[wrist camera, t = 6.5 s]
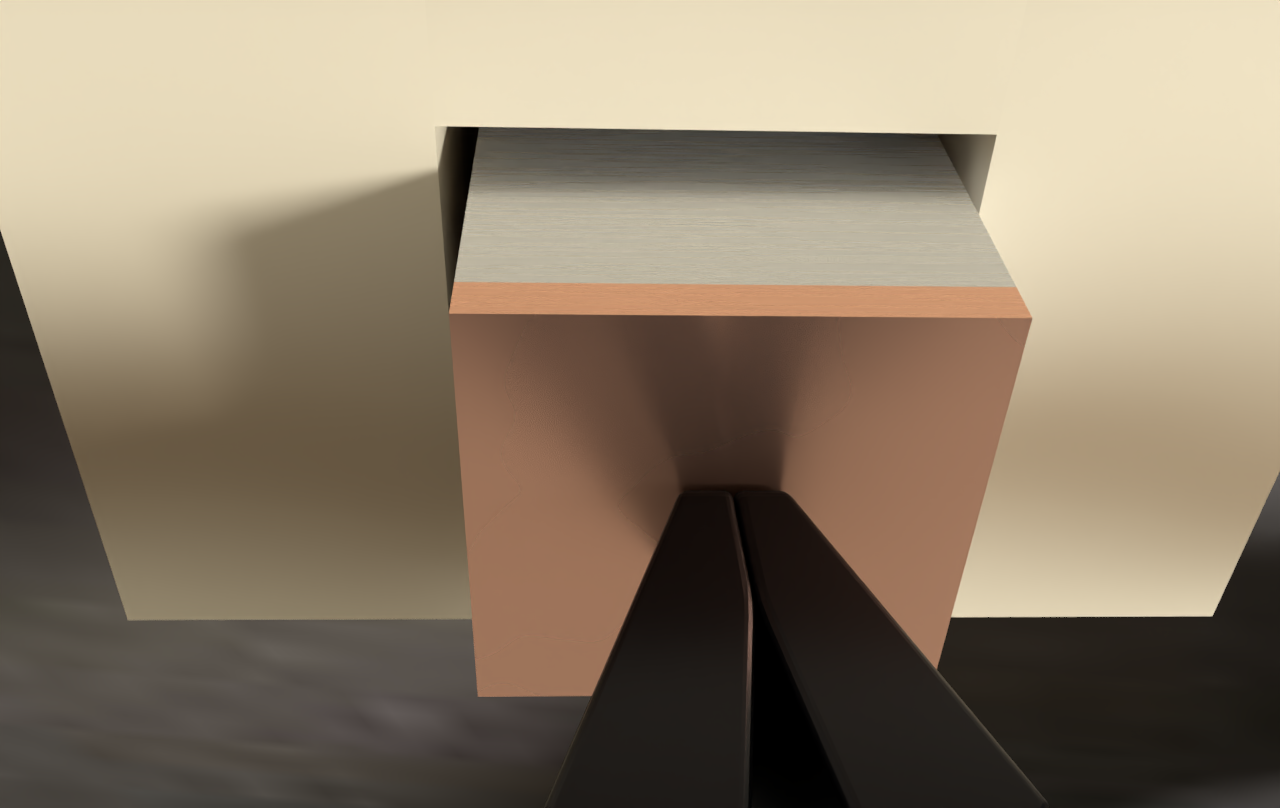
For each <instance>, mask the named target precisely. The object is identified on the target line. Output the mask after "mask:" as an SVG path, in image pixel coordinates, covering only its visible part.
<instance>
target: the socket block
mask: <svg viewBox="0 0 1280 808" xmlns="http://www.w3.org/2000/svg"><path fill="white" fill-rule="evenodd" d="M479 127H528V128H595V129H661V130H728V131H795V132H861V133H928V134H937V135H938V137H939V139H940V141H941V143H942V145H943V147H944V149H945V151H946V153H947V154H948V156H949V158H950V160H951V162H952V164H953V166H954V168H955V170H956V172H957V174H958V176H959V178H960V179H961V181H962V183H963V185H964V187H965V189H966V191H967V193H968V195H969V197H970V199H971V201H972V203H973V204H974V206H975V208H976V210H977V212H978V214H979V216H980V218H981V220H982V222H983V224H984V226H985V228H986V229H987V231H988V233H989V235H990V237H991V239H992V241H993V243H994V245H995V247H996V249H997V251H998V253H999V254H1000V256H1001V258H1002V260H1003V262H1004V264H1005V266H1006V268H1007V270H1008V272H1009V274H1010V276H1011V278H1012V279H1013V281H1014V283H1015V285H1016V287H1017V289H1018V291H1019V293H1020V295H1021V297H1022V299H1023V301H1024V303H1025V305H1026V306H1027V308H1028V310H1029V312H1030V314H1031V316H1032V318H1033V319H1032V322H1031V326H1030V330H1029V333H1028V337H1027V341H1026V344H1025V348H1024V352H1023V355H1022V359H1021V363H1020V366H1019V370H1018V373H1017V377H1016V381H1015V384H1014V388H1013V392H1012V395H1011V399H1010V403H1009V406H1008V410H1007V414H1006V417H1005V421H1004V425H1003V428H1002V432H1001V436H1000V439H999V443H998V447H997V450H996V454H995V458H994V461H993V465H992V469H991V472H990V476H989V480H988V483H987V487H986V491H985V494H984V498H983V502H982V505H981V509H980V513H979V516H978V520H977V524H976V527H975V531H974V535H973V538H972V542H971V546H970V549H969V553H968V557H967V560H966V564H965V568H964V571H963V575H962V579H961V582H960V586H959V590H958V593H957V597H956V601H955V604H954V608H953V612H952V615H951V617H1171V616H1213V614H1214V612H1215V610H1216V607H1217V605H1218V603H1219V601H1220V599H1221V597H1222V595H1223V592H1224V590H1225V588H1226V586H1227V584H1228V582H1229V579H1230V577H1231V575H1232V573H1233V571H1234V569H1235V566H1236V564H1237V562H1238V560H1239V558H1240V556H1241V553H1242V551H1243V549H1244V547H1245V545H1246V543H1247V541H1248V538H1249V536H1250V534H1251V532H1252V530H1253V528H1254V525H1255V523H1256V521H1257V519H1258V517H1259V515H1260V512H1261V510H1262V508H1263V506H1264V504H1265V502H1266V500H1267V497H1268V495H1269V493H1270V491H1271V489H1272V487H1273V484H1274V482H1275V480H1276V478H1277V476H1278V474H1279V471H1280V0H0V230H1V234H2V237H3V240H4V243H5V246H6V249H7V252H8V255H9V258H10V261H11V264H12V267H13V270H14V273H15V276H16V279H17V282H18V285H19V289H20V292H21V295H22V298H23V301H24V304H25V307H26V310H27V313H28V316H29V319H30V322H31V325H32V328H33V331H34V334H35V337H36V341H37V344H38V347H39V350H40V353H41V356H42V359H43V362H44V365H45V368H46V371H47V374H48V377H49V380H50V383H51V386H52V389H53V392H54V396H55V399H56V402H57V405H58V408H59V411H60V414H61V417H62V420H63V423H64V426H65V429H66V432H67V435H68V438H69V441H70V444H71V448H72V451H73V454H74V457H75V460H76V463H77V466H78V469H79V472H80V475H81V478H82V481H83V484H84V487H85V490H86V493H87V496H88V499H89V503H90V506H91V509H92V512H93V515H94V518H95V521H96V524H97V527H98V530H99V533H100V536H101V539H102V542H103V545H104V548H105V551H106V555H107V558H108V561H109V564H110V567H111V570H112V573H113V576H114V579H115V582H116V585H117V588H118V591H119V594H120V597H121V600H122V603H123V606H124V610H125V613H126V616H127V619H128V620H321V619H472V612H471V599H470V586H469V572H468V559H467V546H466V533H465V520H464V507H463V493H462V480H461V467H460V454H459V441H458V428H457V414H456V401H455V388H454V375H453V362H452V349H451V335H450V322H449V309H450V303H451V297H452V291H453V285H454V279H455V273H456V267H457V260H458V254H459V248H460V242H461V236H462V230H463V224H464V218H465V211H466V205H467V199H468V193H469V187H470V181H471V175H472V169H473V162H474V156H475V150H476V144H477V138H478V132H479Z"/></svg>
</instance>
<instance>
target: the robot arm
mask: <svg viewBox="0 0 1280 808" xmlns="http://www.w3.org/2000/svg"><path fill="white" fill-rule="evenodd" d="M544 808H1049V804H1048V802H1047V801H1046V800H1045V798H1044V797H1043V796H1042V795H1041V794H1040V792H1039V791H1038V790H1037V789H1036V788H1035V786H1034V785H1033V784H1032V783H1031V782H1030V780H1029V779H1028V778H1027V777H1026V776H1025V774H1024V773H1023V772H1022V771H1021V770H1020V769H1019V767H1018V766H1017V765H1016V764H1015V763H1014V761H1013V760H1012V759H1011V758H1010V757H1009V755H1008V754H1007V753H1006V752H1005V751H1004V749H1003V748H1002V747H1001V746H1000V745H999V743H998V742H997V741H996V740H995V739H994V737H993V736H992V735H991V734H990V733H989V732H988V730H987V729H986V728H985V727H984V726H983V724H982V723H981V722H980V721H979V720H978V718H977V717H976V716H975V715H974V714H973V712H972V711H971V710H970V709H969V708H968V706H967V705H966V704H965V703H964V702H963V700H962V699H961V698H960V697H959V696H958V695H957V693H956V692H955V691H954V690H953V689H952V687H951V686H950V685H949V684H948V683H947V681H946V680H945V679H944V678H943V677H942V675H941V674H940V673H939V672H938V671H937V669H936V668H935V667H934V666H933V665H932V663H931V662H930V661H929V660H928V659H927V658H926V656H925V655H924V654H923V653H922V652H921V650H920V649H919V648H918V647H917V646H916V644H915V643H914V642H913V641H912V640H911V638H910V637H909V636H908V635H907V634H906V632H905V631H904V630H903V629H902V628H901V626H900V625H899V624H898V623H897V622H896V621H895V619H894V618H893V617H892V616H891V615H890V613H889V612H888V611H887V610H886V609H885V607H884V606H883V605H882V604H881V603H880V601H879V600H878V599H877V598H876V597H875V595H874V594H873V593H872V592H871V591H870V589H869V588H868V587H867V586H866V585H865V584H864V582H863V581H862V580H861V579H860V578H859V576H858V575H857V574H856V573H855V572H854V570H853V569H852V568H851V567H850V566H849V564H848V563H847V562H846V561H845V560H844V558H843V557H842V556H841V555H840V554H839V552H838V551H837V550H836V549H835V548H834V547H833V545H832V544H831V543H830V542H829V541H828V539H827V538H826V537H825V536H824V535H823V533H822V532H821V531H820V530H819V529H818V527H817V526H816V525H815V524H814V523H813V521H812V520H811V519H810V518H809V517H808V515H807V514H806V513H805V512H804V511H803V510H802V508H801V507H800V506H799V505H798V504H797V502H796V501H795V500H794V499H793V498H792V497H791V496H790V495H789V494H788V493H786V492H784V491H740V492H738V493H737V494H736V495H735V496H734V498H733V497H732V495H731V494H730V493H729V492H727V491H723V490H687V491H684V492H682V493H680V494H679V496H678V497H677V499H676V501H675V503H674V506H673V508H672V510H671V513H670V515H669V517H668V520H667V522H666V524H665V527H664V529H663V531H662V534H661V536H660V538H659V541H658V543H657V545H656V548H655V550H654V552H653V555H652V557H651V559H650V561H649V564H648V566H647V568H646V571H645V573H644V575H643V578H642V580H641V582H640V585H639V587H638V589H637V592H636V594H635V596H634V599H633V601H632V603H631V606H630V608H629V610H628V613H627V615H626V617H625V620H624V622H623V624H622V627H621V629H620V631H619V634H618V636H617V638H616V641H615V643H614V645H613V648H612V650H611V652H610V655H609V657H608V659H607V662H606V664H605V666H604V669H603V671H602V673H601V675H600V678H599V680H598V682H597V685H596V687H595V689H594V692H593V694H592V696H591V699H590V701H589V703H588V706H587V708H586V710H585V713H584V715H583V717H582V720H581V722H580V724H579V727H578V729H577V731H576V734H575V736H574V738H573V741H572V743H571V745H570V748H569V750H568V752H567V755H566V757H565V759H564V762H563V764H562V766H561V769H560V771H559V773H558V776H557V778H556V780H555V782H554V785H553V787H552V789H551V792H550V794H549V796H548V799H547V801H546V803H545V806H544Z"/></svg>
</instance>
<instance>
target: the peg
mask: <svg viewBox="0 0 1280 808" xmlns="http://www.w3.org/2000/svg"><path fill="white" fill-rule="evenodd" d="M1032 319H1033V318H1032V316H1031V314H1030V312H1029V310H1028V308H1027V306H1026V305H1025V303H1024V301H1023V299H1022V297H1021V295H1020V293H1019V291H1018V289H1017V287H1016V285H1015V283H1014V281H1013V279H1012V278H1011V276H1010V274H1009V272H1008V270H1007V268H1006V266H1005V264H1004V262H1003V260H1002V258H1001V256H1000V254H999V253H998V251H997V249H996V247H995V245H994V243H993V241H992V239H991V237H990V235H989V233H988V231H987V229H986V228H985V226H984V224H983V222H982V220H981V218H980V216H979V214H978V212H977V210H976V208H975V206H974V204H973V203H972V201H971V199H970V197H969V195H968V193H967V191H966V189H965V187H964V185H963V183H962V181H961V179H960V178H959V176H958V174H957V172H956V170H955V168H954V166H953V164H952V162H951V160H950V158H949V156H948V154H947V153H946V151H945V149H944V147H943V145H942V143H941V141H940V139H939V137H938V135H937V134H928V133H861V132H795V131H728V130H661V129H595V128H528V127H479V132H478V138H477V144H476V150H475V156H474V162H473V169H472V175H471V181H470V187H469V193H468V199H467V205H466V211H465V218H464V224H463V230H462V236H461V242H460V248H459V254H458V260H457V267H456V273H455V279H454V285H453V291H452V297H451V303H450V309H449V322H450V335H451V349H452V362H453V375H454V388H455V401H456V414H457V428H458V441H459V454H460V467H461V480H462V493H463V507H464V520H465V533H466V546H467V559H468V572H469V586H470V599H471V612H472V625H473V638H474V651H475V665H476V678H477V691H478V697H511V696H592V694H593V692H594V689H595V687H596V685H597V682H598V680H599V678H600V675H601V673H602V671H603V669H604V666H605V664H606V662H607V659H608V657H609V655H610V652H611V650H612V648H613V645H614V643H615V641H616V638H617V636H618V634H619V631H620V629H621V627H622V624H623V622H624V620H625V617H626V615H627V613H628V610H629V608H630V606H631V603H632V601H633V599H634V596H635V594H636V592H637V589H638V587H639V585H640V582H641V580H642V578H643V575H644V573H645V571H646V568H647V566H648V564H649V561H650V559H651V557H652V555H653V552H654V550H655V548H656V545H657V543H658V541H659V538H660V536H661V534H662V531H663V529H664V527H665V524H666V522H667V520H668V517H669V515H670V513H671V510H672V508H673V506H674V503H675V501H676V499H677V497H678V496H679V494H680V493H682V492H684V491H687V490H723V491H727V492H729V493H730V494H731V495H732V497H733V498H734V496H735V495H736V494H737V493H738V492H740V491H784V492H786V493H788V494H789V495H790V496H791V497H792V498H793V499H794V500H795V501H796V502H797V504H798V505H799V506H800V507H801V508H802V510H803V511H804V512H805V513H806V514H807V515H808V517H809V518H810V519H811V520H812V521H813V523H814V524H815V525H816V526H817V527H818V529H819V530H820V531H821V532H822V533H823V535H824V536H825V537H826V538H827V539H828V541H829V542H830V543H831V544H832V545H833V547H834V548H835V549H836V550H837V551H838V552H839V554H840V555H841V556H842V557H843V558H844V560H845V561H846V562H847V563H848V564H849V566H850V567H851V568H852V569H853V570H854V572H855V573H856V574H857V575H858V576H859V578H860V579H861V580H862V581H863V582H864V584H865V585H866V586H867V587H868V588H869V589H870V591H871V592H872V593H873V594H874V595H875V597H876V598H877V599H878V600H879V601H880V603H881V604H882V605H883V606H884V607H885V609H886V610H887V611H888V612H889V613H890V615H891V616H892V617H893V618H894V619H895V621H896V622H897V623H898V624H899V625H900V626H901V628H902V629H903V630H904V631H905V632H906V634H907V635H908V636H909V637H910V638H911V640H912V641H913V642H914V643H915V644H916V646H917V647H918V648H919V649H920V650H921V652H922V653H923V654H924V655H925V656H926V658H927V659H928V660H929V661H930V662H931V663H932V665H933V666H934V667H935V668H936V669H937V667H938V663H939V659H940V656H941V652H942V648H943V645H944V641H945V637H946V634H947V630H948V626H949V623H950V619H951V615H952V612H953V608H954V604H955V601H956V597H957V593H958V590H959V586H960V582H961V579H962V575H963V571H964V568H965V564H966V560H967V557H968V553H969V549H970V546H971V542H972V538H973V535H974V531H975V527H976V524H977V520H978V516H979V513H980V509H981V505H982V502H983V498H984V494H985V491H986V487H987V483H988V480H989V476H990V472H991V469H992V465H993V461H994V458H995V454H996V450H997V447H998V443H999V439H1000V436H1001V432H1002V428H1003V425H1004V421H1005V417H1006V414H1007V410H1008V406H1009V403H1010V399H1011V395H1012V392H1013V388H1014V384H1015V381H1016V377H1017V373H1018V370H1019V366H1020V363H1021V359H1022V355H1023V352H1024V348H1025V344H1026V341H1027V337H1028V333H1029V330H1030V326H1031V322H1032Z"/></svg>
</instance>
